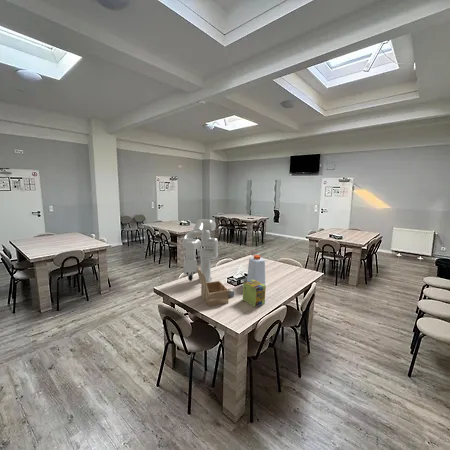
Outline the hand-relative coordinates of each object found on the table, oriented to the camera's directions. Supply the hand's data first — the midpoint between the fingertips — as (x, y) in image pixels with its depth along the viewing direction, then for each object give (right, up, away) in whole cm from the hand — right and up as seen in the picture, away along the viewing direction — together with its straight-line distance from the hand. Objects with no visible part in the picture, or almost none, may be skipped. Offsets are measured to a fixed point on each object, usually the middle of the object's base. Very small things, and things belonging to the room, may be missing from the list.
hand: (190, 280), depth 184 cm
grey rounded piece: (+31, -17, +18) cm, 40 cm away
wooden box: (+18, -18, +11) cm, 28 cm away
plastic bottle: (+56, -14, +42) cm, 71 cm away
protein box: (+50, -19, +8) cm, 54 cm away
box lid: (+9, 0, +4) cm, 10 cm away
